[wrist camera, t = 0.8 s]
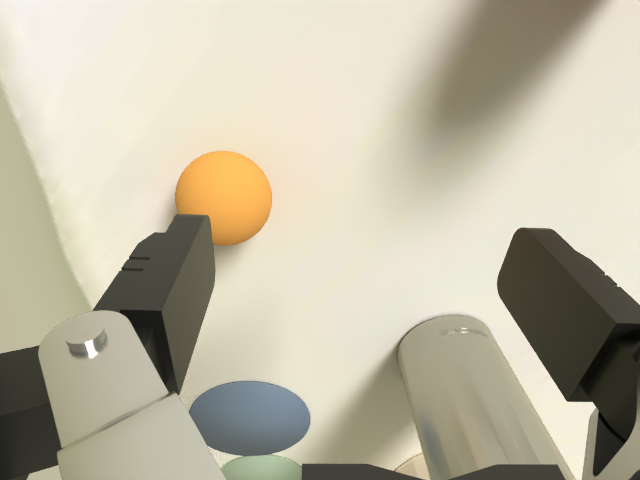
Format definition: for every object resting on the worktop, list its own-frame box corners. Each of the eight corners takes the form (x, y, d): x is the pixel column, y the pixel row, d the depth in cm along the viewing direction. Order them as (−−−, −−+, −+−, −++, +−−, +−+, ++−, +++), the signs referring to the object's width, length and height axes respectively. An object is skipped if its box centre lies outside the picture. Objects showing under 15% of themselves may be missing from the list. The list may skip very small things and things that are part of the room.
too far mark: (302, 501, 52) (302, 502, 52) (218, 501, 51) (218, 502, 51) (309, 454, 46) (309, 456, 46) (215, 453, 45) (214, 455, 45)
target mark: (305, 454, 46) (305, 456, 46) (193, 453, 45) (192, 455, 45) (315, 382, 39) (315, 384, 39) (184, 379, 38) (183, 381, 38)
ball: (272, 220, 29) (267, 266, 24) (191, 214, 29) (168, 261, 24) (276, 142, 26) (270, 176, 21) (185, 134, 26) (156, 168, 21)
